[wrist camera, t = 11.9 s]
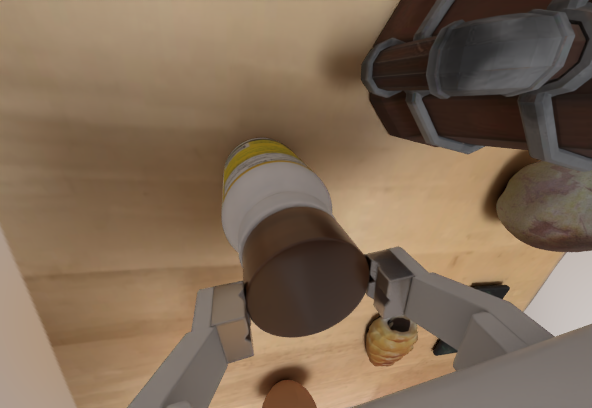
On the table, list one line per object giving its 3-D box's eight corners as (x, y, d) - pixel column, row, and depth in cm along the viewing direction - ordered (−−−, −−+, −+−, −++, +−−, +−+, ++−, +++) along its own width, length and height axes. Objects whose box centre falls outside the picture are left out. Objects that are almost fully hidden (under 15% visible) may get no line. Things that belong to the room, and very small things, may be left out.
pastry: (394, 350, 38) (409, 375, 35) (355, 357, 36) (368, 385, 33) (411, 307, 34) (431, 331, 31) (369, 313, 32) (385, 339, 29)
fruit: (530, 130, 25) (740, 161, 15) (565, 166, 29) (752, 210, 19) (466, 211, 28) (605, 284, 18) (505, 234, 32) (639, 305, 22)
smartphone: (434, 356, 40) (479, 289, 34) (430, 350, 41) (472, 284, 35) (464, 351, 42) (511, 287, 36) (460, 346, 43) (505, 282, 37)
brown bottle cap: (250, 301, 11) (255, 351, 9) (233, 216, 9) (234, 254, 7) (342, 280, 12) (365, 320, 10) (345, 197, 10) (376, 226, 8)
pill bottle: (288, 209, 22) (334, 302, 13) (219, 202, 20) (211, 306, 11) (305, 143, 20) (376, 195, 10) (228, 128, 18) (229, 174, 8)
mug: (512, -25, 18) (1213, -298, 5) (470, 136, 24) (764, 196, 11) (318, -30, 15) (830, -691, 2) (320, 155, 21) (476, 272, 8)
